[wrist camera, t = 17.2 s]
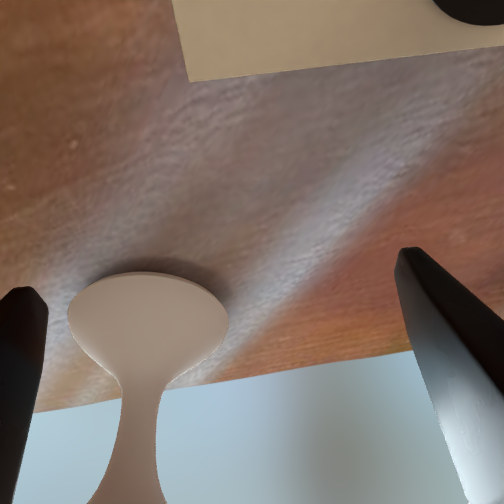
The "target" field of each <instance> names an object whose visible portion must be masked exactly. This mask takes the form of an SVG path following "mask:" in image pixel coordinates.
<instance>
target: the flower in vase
mask: <svg viewBox="0 0 504 504" xmlns="http://www.w3.org/2000/svg"><path fill="white" fill-rule="evenodd" d="M68 322H69V327H70V331H71V334H72V336H73V337H74V339H75V340H76V342H77V343H78V344H79V346H80V347H81V348H82V349H83V350H84V352H85V353H86V354H87V355H88V356H90V357H91V358H92V359H93V360H94V361H95V362H96V363H98V364H99V365H100V366H101V367H102V368H104V369H105V370H106V371H107V372H109V373H110V374H111V375H112V376H113V377H114V378H115V379H116V381H117V382H118V384H119V386H120V389H121V392H122V409H121V416H120V422H119V427H118V432H117V438H116V441H115V445H114V448H113V452H112V456H111V459H110V462H109V464H108V467H107V470H106V472H105V475H104V477H103V479H102V481H101V483H100V485H99V487H98V489H97V490H96V492H95V493H94V495H93V496H92V498H91V499H90V500H89V502H88V503H87V504H167V502H166V500H165V498H164V496H163V493H162V490H161V487H160V483H159V479H158V474H157V465H156V446H155V445H156V443H155V442H156V423H157V422H156V421H157V414H158V407H159V403H160V399H161V396H162V393H163V392H164V390H165V388H166V387H167V386H168V385H169V384H170V383H171V382H172V381H173V380H175V379H176V378H178V377H179V376H181V375H182V374H184V373H186V372H187V371H189V370H191V369H192V368H194V367H196V366H197V365H199V364H200V363H202V362H203V361H204V360H206V359H207V358H208V357H209V356H210V355H211V354H213V353H214V352H215V351H216V350H217V349H218V348H219V347H220V345H221V344H222V342H223V340H224V338H225V335H226V333H227V330H228V326H229V318H228V315H227V312H226V310H225V309H224V307H223V305H222V304H221V303H220V302H219V301H218V300H217V298H216V297H215V296H214V295H213V294H212V293H211V292H209V291H208V290H207V289H205V288H204V287H202V286H200V285H198V284H196V283H194V282H192V281H190V280H187V279H185V278H181V277H178V276H174V275H170V274H165V273H157V272H128V273H121V274H116V275H112V276H108V277H105V278H103V279H100V280H98V281H96V282H94V283H92V284H91V285H89V286H88V287H86V288H85V289H83V290H82V291H81V292H79V293H78V294H77V295H76V296H75V297H74V299H73V300H72V301H71V303H70V305H69V308H68Z"/></svg>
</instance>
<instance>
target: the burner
mask: <svg viewBox="0 0 504 504" xmlns="http://www.w3.org/2000/svg"><path fill="white" fill-rule="evenodd" d="M432 1H433V3H434V4H435V5H436V6H437V7H438V8H439V9H440V10H441V11H443V12H444V13H445V14H447V15H448V16H450V17H451V18H453V19H456V20H458V21H460V22H463V23H467V24H470V25H478V26H495V25H502V24H504V0H432Z"/></svg>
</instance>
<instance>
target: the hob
mask: <svg viewBox="0 0 504 504" xmlns="http://www.w3.org/2000/svg"><path fill="white" fill-rule="evenodd" d="M171 1H172V6H173V11H174V15H175V20H176V25H177V29H178V34H179V39H180V43H181V48H182V53H183V57H184V62H185V67H186V71H187V76H188V81H189V82H198V81H206V80H215V79H223V78H232V77H240V76H249V75H257V74H265V73H274V72H282V71H291V70H299V69H308V68H316V67H325V66H333V65H341V64H350V63H358V62H367V61H375V60H384V59H392V58H400V57H409V56H417V55H426V54H434V53H443V52H451V51H459V50H468V49H476V48H485V47H493V46H502V45H504V24H502V25H495V26H478V25H470V24H467V23H463V22H460V21H458V20H456V19H453V18H451V17H450V16H448V15H447V14H445V13H444V12H443V11H441V10H440V9H439V8H438V7H437V6H436V5H435V4H434V3H433V1H432V0H171Z"/></svg>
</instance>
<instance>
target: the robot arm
mask: <svg viewBox="0 0 504 504" xmlns="http://www.w3.org/2000/svg"><path fill="white" fill-rule="evenodd" d="M394 276H395V282H396V286H397V291H398V295H399V299H400V304H401V308H402V313H403V317H404V321H405V326H406V330H407V334H408V337H409V340H410V343H411V346H412V349H413V351H414V354H415V357H416V360H417V363H418V365H419V368H420V371H421V374H422V376H423V379H424V382H425V385H426V388H427V390H428V393H429V396H430V398H431V401H432V404H433V407H434V410H435V412H436V415H437V418H438V421H439V424H440V426H441V429H442V432H443V434H444V438H445V440H446V443H447V446H448V449H449V451H450V454H451V457H452V459H453V462H454V465H455V468H456V471H457V474H458V476H459V479H460V482H461V485H462V487H463V490H464V493H465V496H466V499H467V501H468V504H504V320H502V319H501V318H500V317H499V316H498V315H497V314H496V313H494V312H493V311H492V310H491V309H490V308H489V307H488V306H486V305H485V304H484V303H483V302H482V301H481V300H479V299H478V298H477V297H476V296H475V295H474V294H473V293H471V292H470V291H469V290H468V289H467V288H466V287H465V286H463V285H462V284H461V283H460V282H459V281H458V280H456V279H455V278H454V277H453V276H452V275H451V274H450V273H448V272H447V271H446V270H445V269H444V268H443V267H442V266H440V265H439V264H438V263H437V262H436V261H435V260H434V259H432V258H431V257H430V256H429V255H428V254H427V253H425V252H424V251H423V250H422V249H421V248H419V247H406V248H402V249H401V250H400V251H399V254H398V258H397V262H396V266H395V270H394ZM48 315H49V311H48V307H47V304H46V303H45V302H44V300H43V299H42V298H41V297H40V295H39V294H38V293H37V292H36V291H35V289H34V288H32V287H30V286H26V287H16V288H13V289H12V290H10V291H9V292H8V293H7V294H6V295H5V296H4V297H3V298H2V299H1V300H0V504H12V503H13V499H14V494H15V490H16V486H17V481H18V477H19V472H20V467H21V463H22V458H23V454H24V449H25V445H26V441H27V437H28V432H29V427H30V423H31V419H32V414H33V410H34V406H35V401H36V397H37V392H38V388H39V383H40V379H41V374H42V369H43V362H44V353H45V343H46V334H47V324H48Z"/></svg>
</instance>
